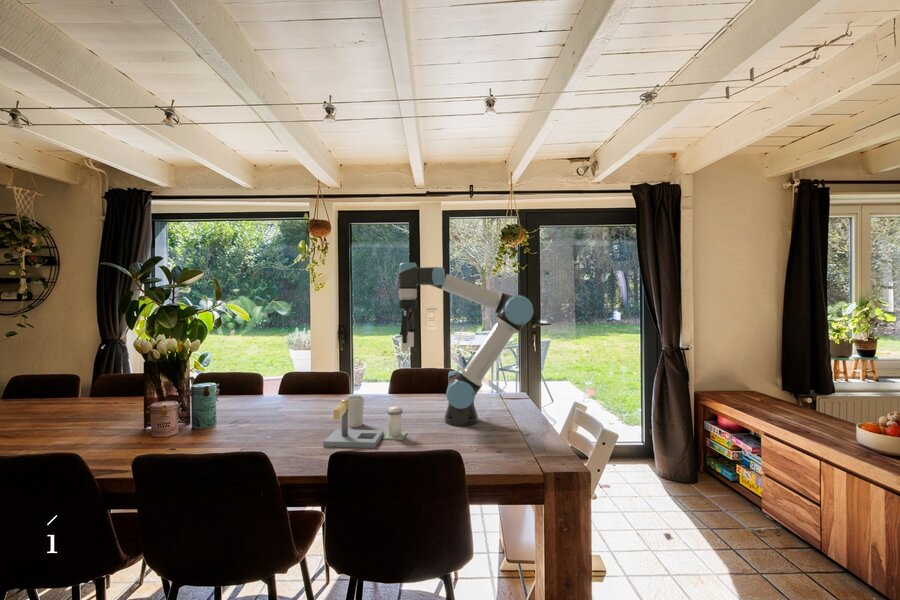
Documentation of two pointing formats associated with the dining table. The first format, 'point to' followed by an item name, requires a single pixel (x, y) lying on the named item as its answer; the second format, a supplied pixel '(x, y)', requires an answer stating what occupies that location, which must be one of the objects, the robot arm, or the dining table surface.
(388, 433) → the mat
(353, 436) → the socket board
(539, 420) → the dining table surface
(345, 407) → the clip
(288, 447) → the dining table surface
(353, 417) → the cup
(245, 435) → the dining table surface
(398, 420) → the cream banded cylinder
